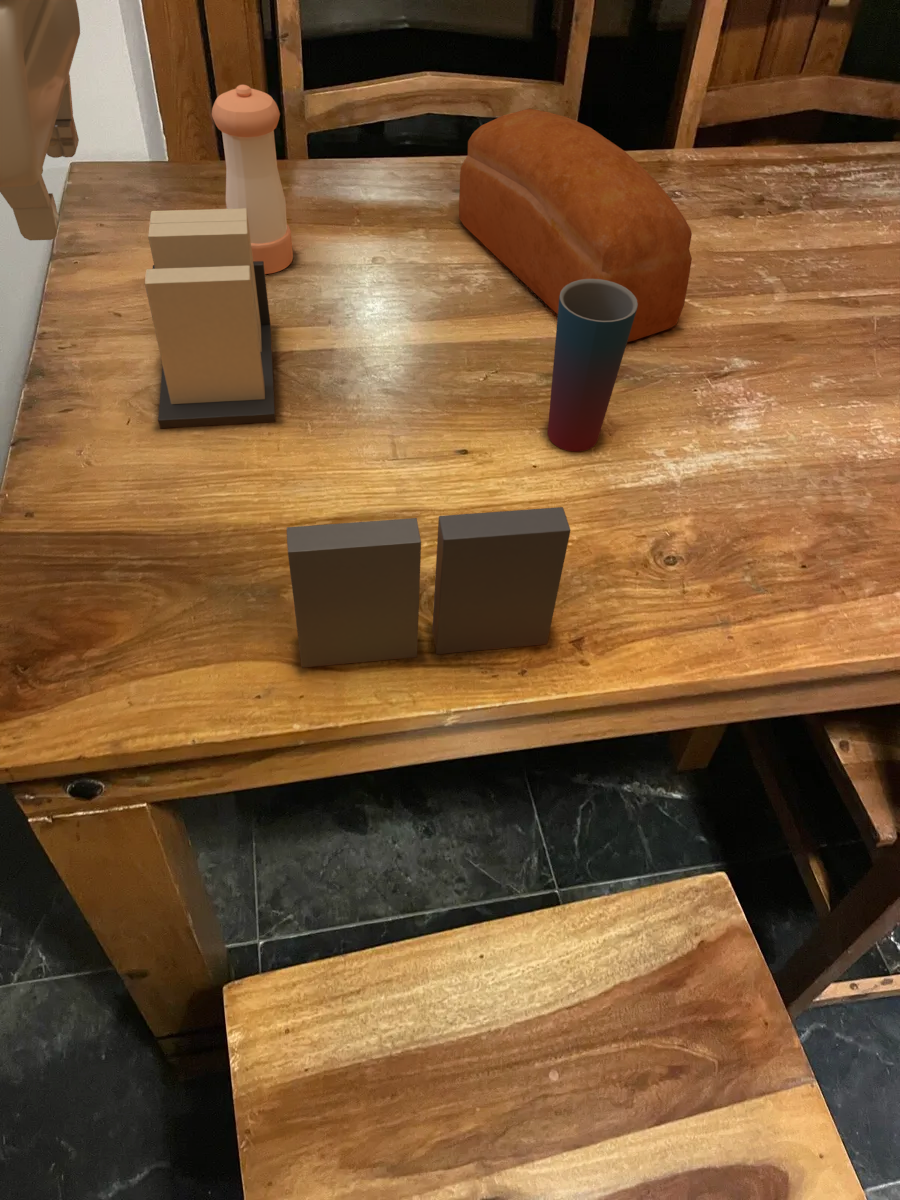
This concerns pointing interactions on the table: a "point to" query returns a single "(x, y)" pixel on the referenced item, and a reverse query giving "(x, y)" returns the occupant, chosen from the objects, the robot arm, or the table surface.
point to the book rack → (214, 245)
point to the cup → (587, 359)
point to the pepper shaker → (255, 171)
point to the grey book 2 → (497, 578)
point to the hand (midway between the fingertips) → (53, 190)
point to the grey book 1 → (355, 590)
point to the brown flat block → (206, 333)
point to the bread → (575, 214)
